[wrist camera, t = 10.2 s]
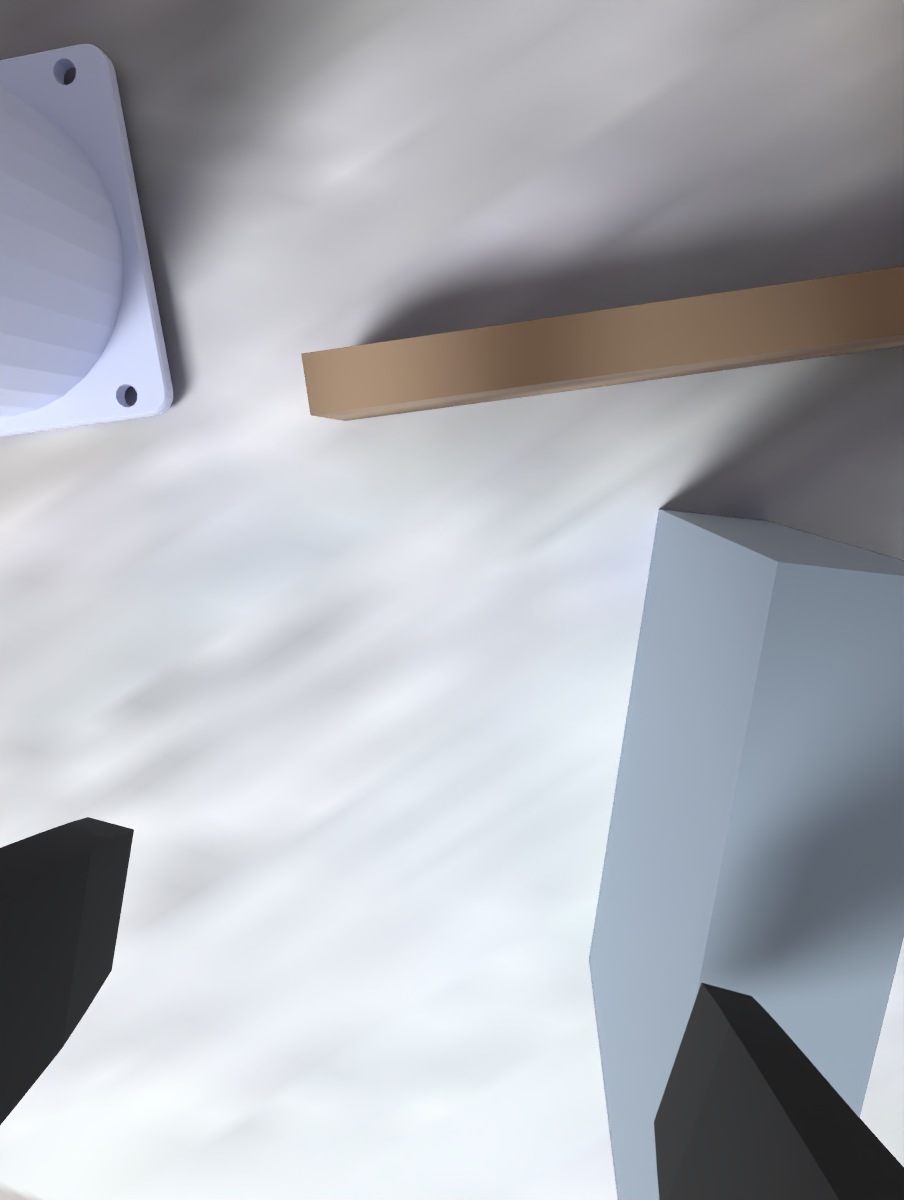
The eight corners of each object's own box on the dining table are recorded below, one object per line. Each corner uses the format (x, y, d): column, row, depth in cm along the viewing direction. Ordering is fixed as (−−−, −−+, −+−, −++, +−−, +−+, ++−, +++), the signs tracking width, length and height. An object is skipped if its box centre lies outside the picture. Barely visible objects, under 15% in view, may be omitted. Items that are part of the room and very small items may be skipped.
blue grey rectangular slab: (588, 958, 21) (633, 1331, 12) (658, 508, 18) (777, 561, 10) (683, 972, 21) (800, 1362, 12) (766, 520, 18) (989, 585, 9)
